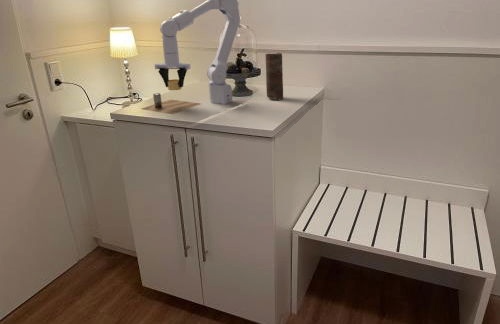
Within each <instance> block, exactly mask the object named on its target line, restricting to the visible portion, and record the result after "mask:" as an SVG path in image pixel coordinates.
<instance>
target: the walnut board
mask: <svg viewBox="0 0 500 324" xmlns="http://www.w3.org/2000/svg"><path fill="white" fill-rule="evenodd" d="M200 105H201V103H199V102H198V103H197V102H193V101H192V102H191V101H186V100H177V99H167V100H164V101H162V107H161V108H155V105H154V104H152V105H148V106H146V107H142V108H141V107H140V110H145V111H150V112H151V111H152V112H157V113H164V114H169V115H173V114H178V113H180V112H182V111H185V110H189V109H190V108H193V107H196V106H200Z"/></svg>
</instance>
